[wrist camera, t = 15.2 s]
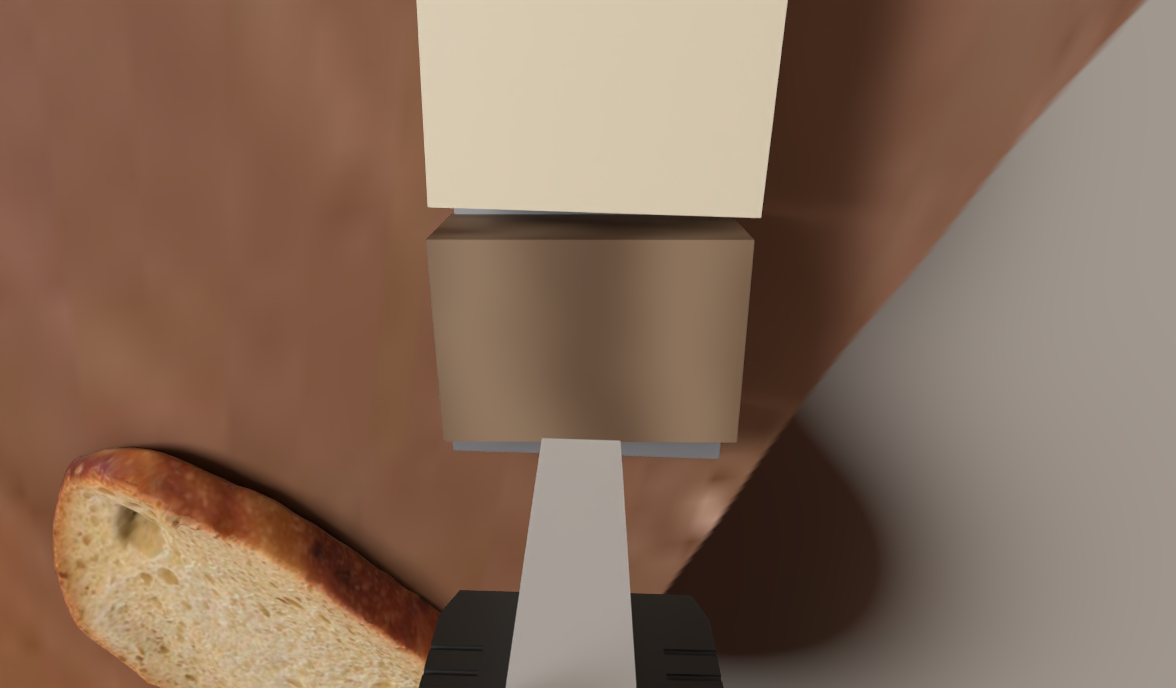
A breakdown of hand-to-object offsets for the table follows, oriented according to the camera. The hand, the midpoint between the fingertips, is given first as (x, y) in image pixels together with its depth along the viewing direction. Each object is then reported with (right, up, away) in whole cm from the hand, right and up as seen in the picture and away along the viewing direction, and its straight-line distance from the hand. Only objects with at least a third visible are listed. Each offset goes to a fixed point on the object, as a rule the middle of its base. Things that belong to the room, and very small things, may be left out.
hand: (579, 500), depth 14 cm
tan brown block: (0, +4, +13) cm, 13 cm away
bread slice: (-14, -9, +20) cm, 26 cm away
